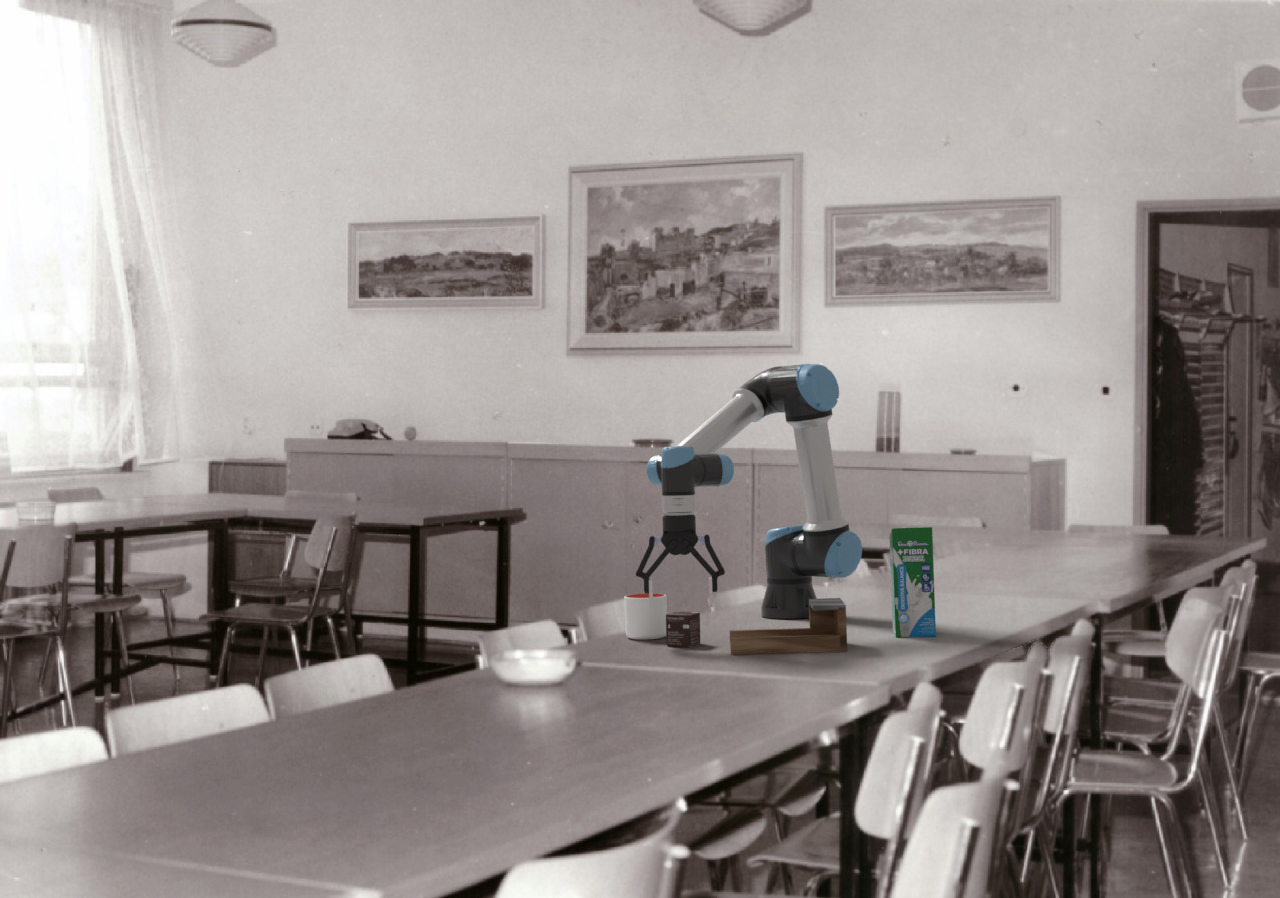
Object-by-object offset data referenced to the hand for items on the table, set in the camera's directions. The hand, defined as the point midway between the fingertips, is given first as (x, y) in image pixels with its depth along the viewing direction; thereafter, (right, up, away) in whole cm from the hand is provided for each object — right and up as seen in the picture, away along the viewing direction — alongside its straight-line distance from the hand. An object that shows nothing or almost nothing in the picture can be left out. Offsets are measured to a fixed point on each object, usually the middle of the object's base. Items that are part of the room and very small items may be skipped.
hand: (681, 607), depth 329 cm
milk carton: (+54, -7, +4) cm, 54 cm away
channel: (+23, -8, -11) cm, 27 cm away
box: (+1, -9, 0) cm, 9 cm away
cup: (-8, -9, +15) cm, 19 cm away
